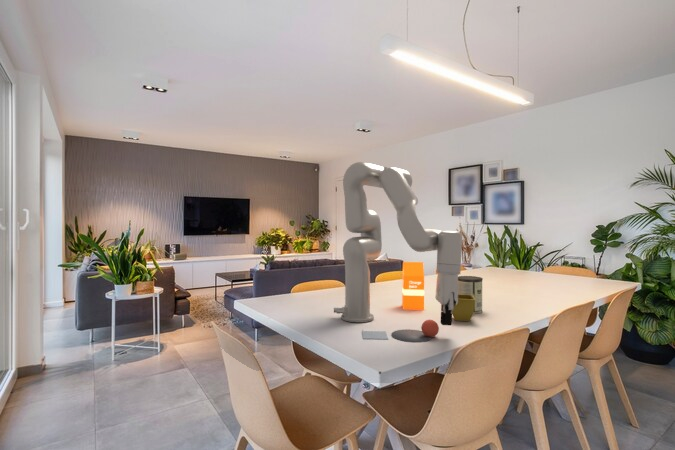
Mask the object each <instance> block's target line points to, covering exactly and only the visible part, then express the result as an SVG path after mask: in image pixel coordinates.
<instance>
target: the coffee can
mask: <svg viewBox="0 0 675 450" xmlns="http://www.w3.org/2000/svg"><path fill="white" fill-rule="evenodd" d="M483 279H484V278H483V277H481V276H474V275H473V276H472V275H460V276H459V275H458V294H462V295H472V296H473V297H474V298H475V307H474V313H473V314H480V313H483Z"/></svg>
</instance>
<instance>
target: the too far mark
mask: <svg viewBox="0 0 675 450" xmlns="http://www.w3.org/2000/svg"><path fill="white" fill-rule="evenodd" d="M361 333H362V339H363V340H389V336H388V334H387V332H386V330H381V331H380V330H378V331H376V330H375V331H374V330H372V331H371V330H369V331H368V330H362V331H361Z"/></svg>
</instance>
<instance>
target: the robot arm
mask: <svg viewBox="0 0 675 450" xmlns="http://www.w3.org/2000/svg"><path fill="white" fill-rule="evenodd" d="M412 185H413V177H412V176H411V173H410V172H409V171H408V170H405V169H402V168H398V167H392V166H390V167H388V166H382V165H378V164H373V163H370V162H365V161H359V162H358V161H357V162H354V163H352V164H350V166H349V167H348V168H347V169H346V170H345V172H344V175H343V179H342V187H343V188H342V189H343V195H344V196H343V197H344V214H345V215H344V217H345V218H344V219H345V227H346V229H347V231H348V232H349V233H352V234H360V236H353V237H350V238H348V239H347V240H346V241H345V242H344V244H343V247H342V255H343V259H344V270H345V271H344V273H345V274H344V275H345V276H344V277H345V278H344V279H345V285H344V286H345V289H344V291H345V294H344V295H345V297H344V299H345V300H344V303H345V304H344V305H343V306H342V307H333V313H334V314H335V313H336V314H338V315H339V314H341V315H340V316H341V318H340V319H342V320H343V321H345V322H349V323H367V322H372V321H373V320H374V319H375V315H374V314H372V313H371V310H370V309H371V271H370V266H369V264H368V261H371V260H376V259H377V258H378V257H379V256H380V254H381V252H382V224H381V223H382V222H381V219H380V217H379V215H378V213H377V212H376V211H374V210H373V209H368V204H367V194H366V192H365V190H364V186H368V187H375V188H381V189H383V191H384V193H385V194H386V196H387V197H388V199H389V201H390V202H391V204H392V206H393V208H394V210H395V212H396V220H397V226H398V229H399V231H400V233H401V234H402V237H403V238H404V240H405V241H406V243H407V244H408V245H409V247H410V248H411V249H412V250H413V251H415V252H419V253H423V252H424V253H425V252H432V251H435V252H436V271H435V272H436V273H437V277H436V286H435V299H436V301H437V302H438V303H439V304H440V324H441V325H442V326H452V322H453V314H452V311H453V309H454V308H453V305H454V306H456V305H457V303H458V277H459V275H460V276H461V272H462V271H461V270H462V266H461V265H462V251H463V250H462V248H463V247H462V245H463V234H462V232H460V231H458V230H439V229H434V228H425V227H423V225H422V223H421V222H420V220H419V218H418V216H417V213H416V206H417V205H418V203H419V200H418V197H417V196H416V194H415V192H414V191H413V189H412V188H411V187H412Z"/></svg>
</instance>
